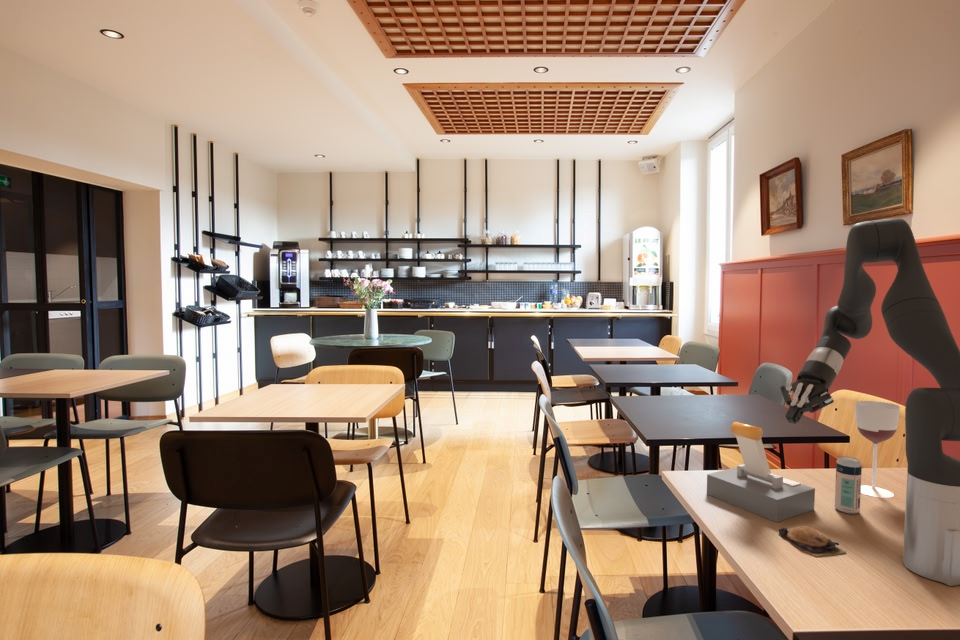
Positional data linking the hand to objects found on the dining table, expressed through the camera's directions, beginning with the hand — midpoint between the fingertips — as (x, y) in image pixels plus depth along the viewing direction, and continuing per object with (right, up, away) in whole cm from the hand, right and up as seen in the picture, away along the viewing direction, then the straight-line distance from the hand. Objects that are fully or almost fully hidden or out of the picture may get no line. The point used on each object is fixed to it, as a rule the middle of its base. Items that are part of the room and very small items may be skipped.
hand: (790, 421), depth 132 cm
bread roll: (-11, -20, -25) cm, 34 cm away
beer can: (+7, -19, -10) cm, 22 cm away
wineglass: (+22, -18, +2) cm, 29 cm away
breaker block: (-10, -18, -5) cm, 22 cm away
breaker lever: (-10, -12, -5) cm, 17 cm away
